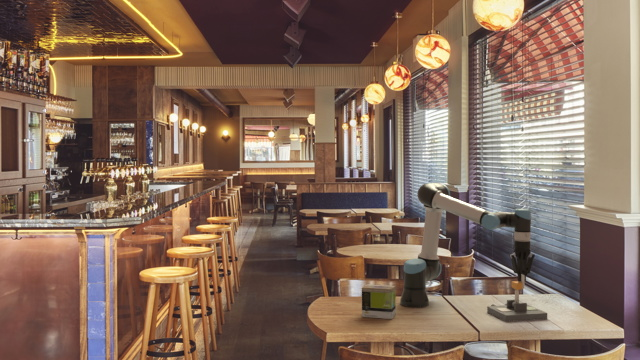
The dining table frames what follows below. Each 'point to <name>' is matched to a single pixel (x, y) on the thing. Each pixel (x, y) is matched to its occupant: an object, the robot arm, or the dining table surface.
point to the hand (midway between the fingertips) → (521, 287)
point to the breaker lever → (516, 290)
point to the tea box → (378, 301)
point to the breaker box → (516, 312)
